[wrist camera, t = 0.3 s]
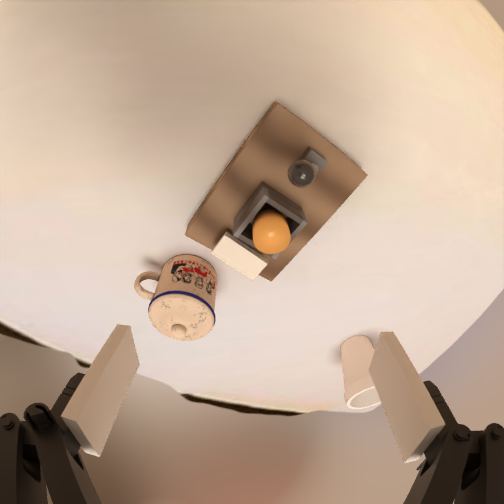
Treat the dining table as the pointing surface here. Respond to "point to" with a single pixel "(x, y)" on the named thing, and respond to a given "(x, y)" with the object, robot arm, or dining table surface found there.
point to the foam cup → (358, 373)
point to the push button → (270, 231)
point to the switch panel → (276, 187)
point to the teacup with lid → (182, 297)
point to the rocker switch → (239, 256)
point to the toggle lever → (302, 173)
